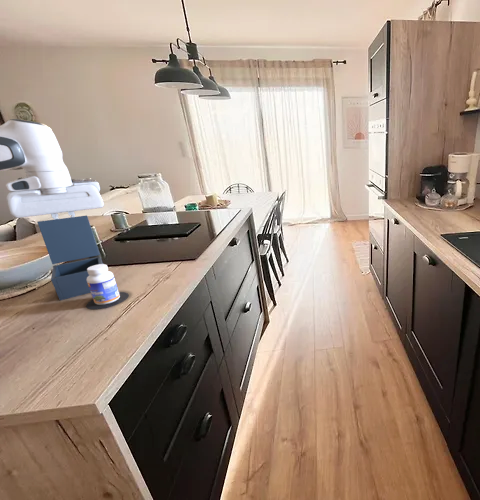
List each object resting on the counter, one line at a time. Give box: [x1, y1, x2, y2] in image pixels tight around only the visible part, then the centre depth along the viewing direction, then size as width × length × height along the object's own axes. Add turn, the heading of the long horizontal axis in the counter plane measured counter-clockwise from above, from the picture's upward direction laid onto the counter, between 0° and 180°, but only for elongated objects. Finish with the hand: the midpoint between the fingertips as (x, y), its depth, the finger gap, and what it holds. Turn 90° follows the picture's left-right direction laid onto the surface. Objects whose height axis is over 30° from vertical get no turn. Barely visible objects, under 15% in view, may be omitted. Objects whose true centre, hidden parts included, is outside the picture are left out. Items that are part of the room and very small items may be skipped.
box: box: [50, 256, 104, 301], centre depth 83 cm, size 12×11×7 cm
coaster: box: [85, 291, 130, 311], centre depth 77 cm, size 9×9×1 cm
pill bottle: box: [87, 263, 120, 305], centre depth 75 cm, size 5×5×10 cm
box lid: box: [36, 214, 101, 265], centre depth 84 cm, size 12×11×1 cm
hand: (68, 226), depth 88 cm, fingers closed
